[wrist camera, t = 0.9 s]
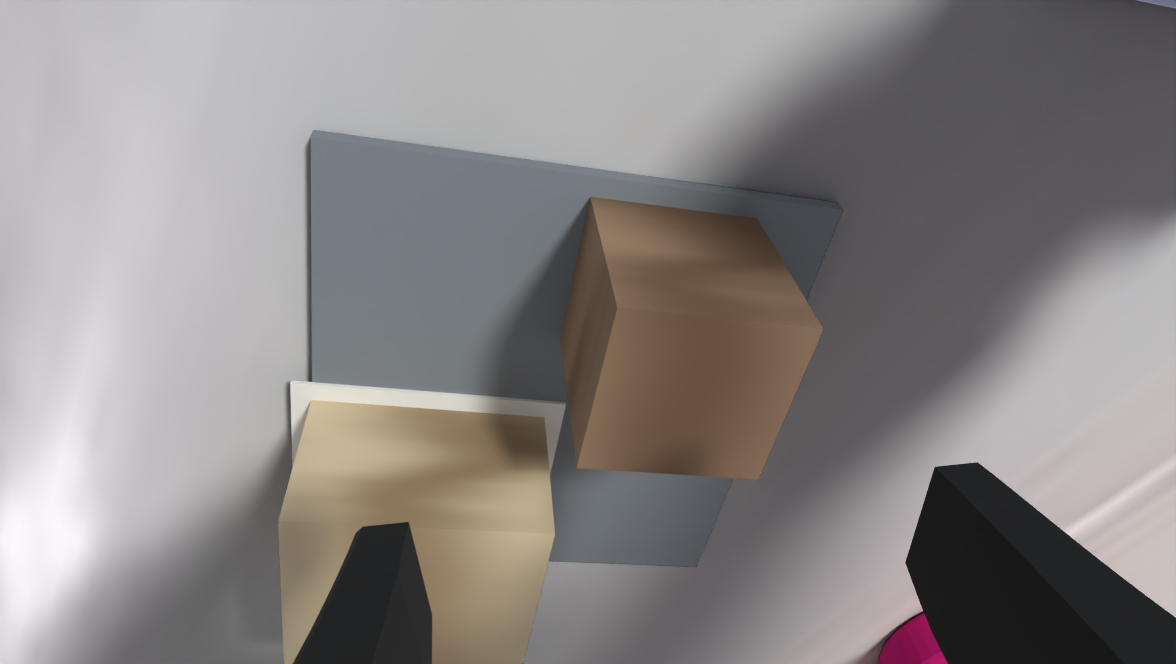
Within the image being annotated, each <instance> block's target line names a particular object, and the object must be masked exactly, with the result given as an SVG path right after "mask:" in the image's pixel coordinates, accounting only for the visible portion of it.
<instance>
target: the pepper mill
mask: <svg viewBox="0 0 1176 664" xmlns="http://www.w3.org/2000/svg"><path fill="white" fill-rule="evenodd" d="M879 664H948V663H947V661H946V659H945V657H944V655H943V653H942V651H941V649H940V647H939V645H938V643H937V641H936V640H935V638H934V636H933V634H932V631H931V629H930V626H929V624H928V621H927V619H926V616H925V614H924V613H923V614H921V615H919V616H917V617H915V618H914V619H912V620H910V621H909V622H907V623H906V624H905V625H903V626H902V627H901V628H900V629H898V630H897V631H896V632H895V633H894V634H893V635H892V636H891V637H890V638H889V640H888V641H887V642H886V643H885V645H884V648H883V650H882V652H881V654H880V657H879Z"/></svg>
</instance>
